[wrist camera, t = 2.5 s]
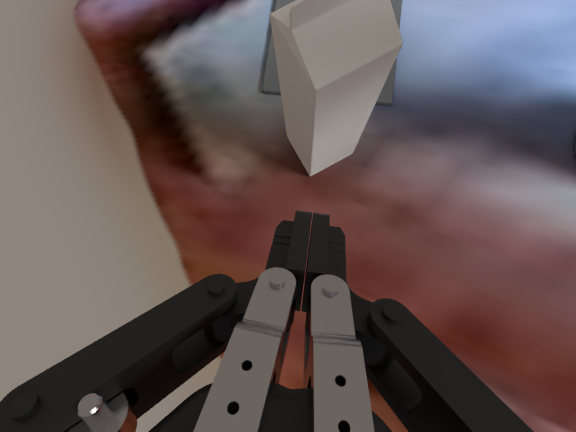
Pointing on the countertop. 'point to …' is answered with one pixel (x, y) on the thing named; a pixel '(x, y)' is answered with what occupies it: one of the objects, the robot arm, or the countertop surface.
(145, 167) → the countertop surface
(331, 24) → the milk
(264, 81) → the mat
